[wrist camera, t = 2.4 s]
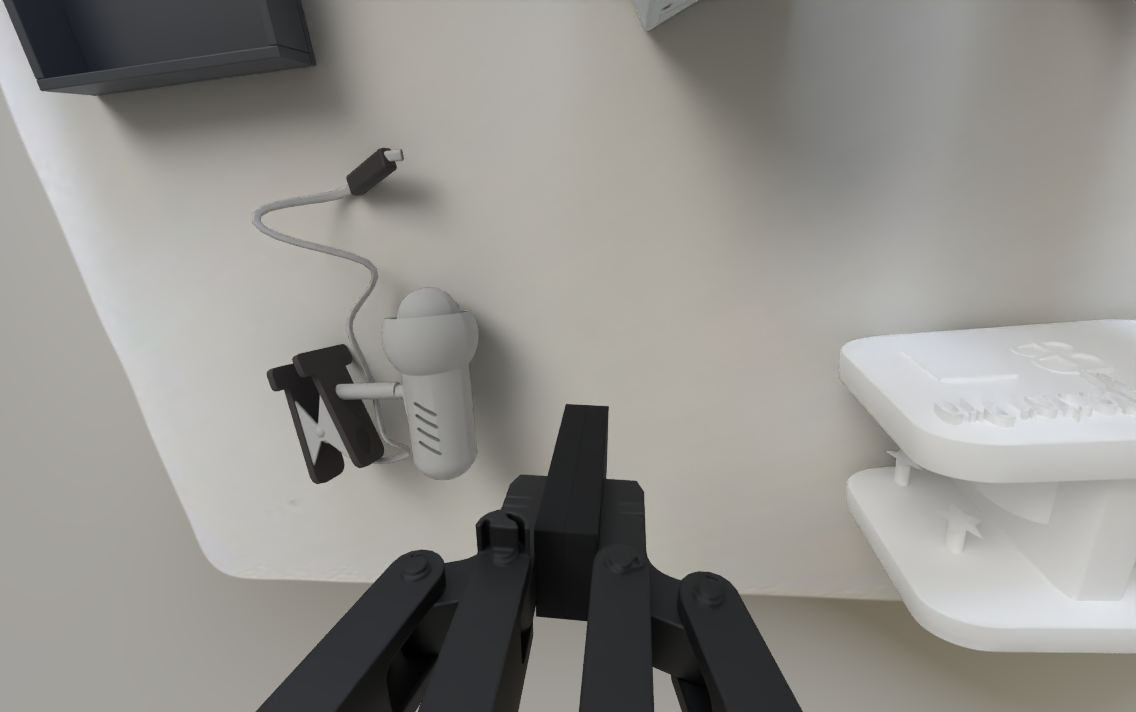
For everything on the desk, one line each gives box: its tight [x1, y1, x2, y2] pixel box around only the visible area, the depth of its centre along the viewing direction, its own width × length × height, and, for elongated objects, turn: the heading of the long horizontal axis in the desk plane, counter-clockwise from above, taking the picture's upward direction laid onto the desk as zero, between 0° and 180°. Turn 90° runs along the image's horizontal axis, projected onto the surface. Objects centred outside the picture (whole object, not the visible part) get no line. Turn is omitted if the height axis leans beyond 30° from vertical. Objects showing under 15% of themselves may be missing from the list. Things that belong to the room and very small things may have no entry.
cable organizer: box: [839, 319, 1136, 653], centre depth 24 cm, size 15×11×12 cm
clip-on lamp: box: [252, 148, 479, 484], centre depth 29 cm, size 12×6×18 cm
